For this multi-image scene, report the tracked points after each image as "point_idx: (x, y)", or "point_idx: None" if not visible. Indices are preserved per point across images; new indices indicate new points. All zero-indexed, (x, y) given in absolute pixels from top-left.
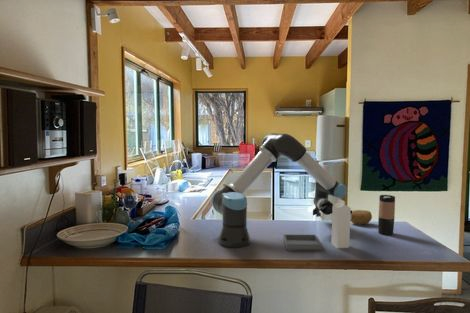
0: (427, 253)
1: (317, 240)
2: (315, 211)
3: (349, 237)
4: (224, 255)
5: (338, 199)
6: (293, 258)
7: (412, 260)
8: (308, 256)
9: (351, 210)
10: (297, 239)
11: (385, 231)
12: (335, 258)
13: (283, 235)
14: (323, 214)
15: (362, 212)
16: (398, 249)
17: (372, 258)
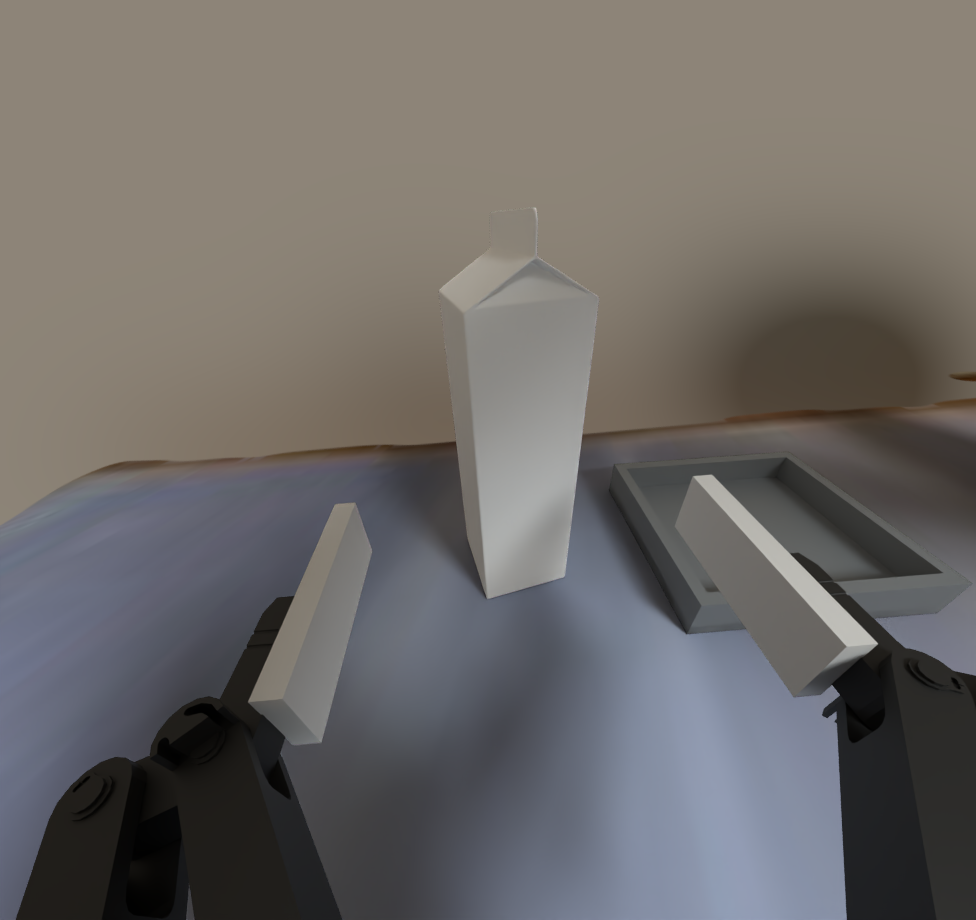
0: (118, 521)
1: (655, 517)
2: (965, 683)
3: (462, 493)
4: (972, 424)
5: (536, 218)
6: (705, 433)
7: (273, 463)
8: (657, 448)
9: (78, 788)
10: None
11: None
12: None
13: (946, 569)
14: (694, 480)
15: None
16: (205, 549)
17: (413, 460)
